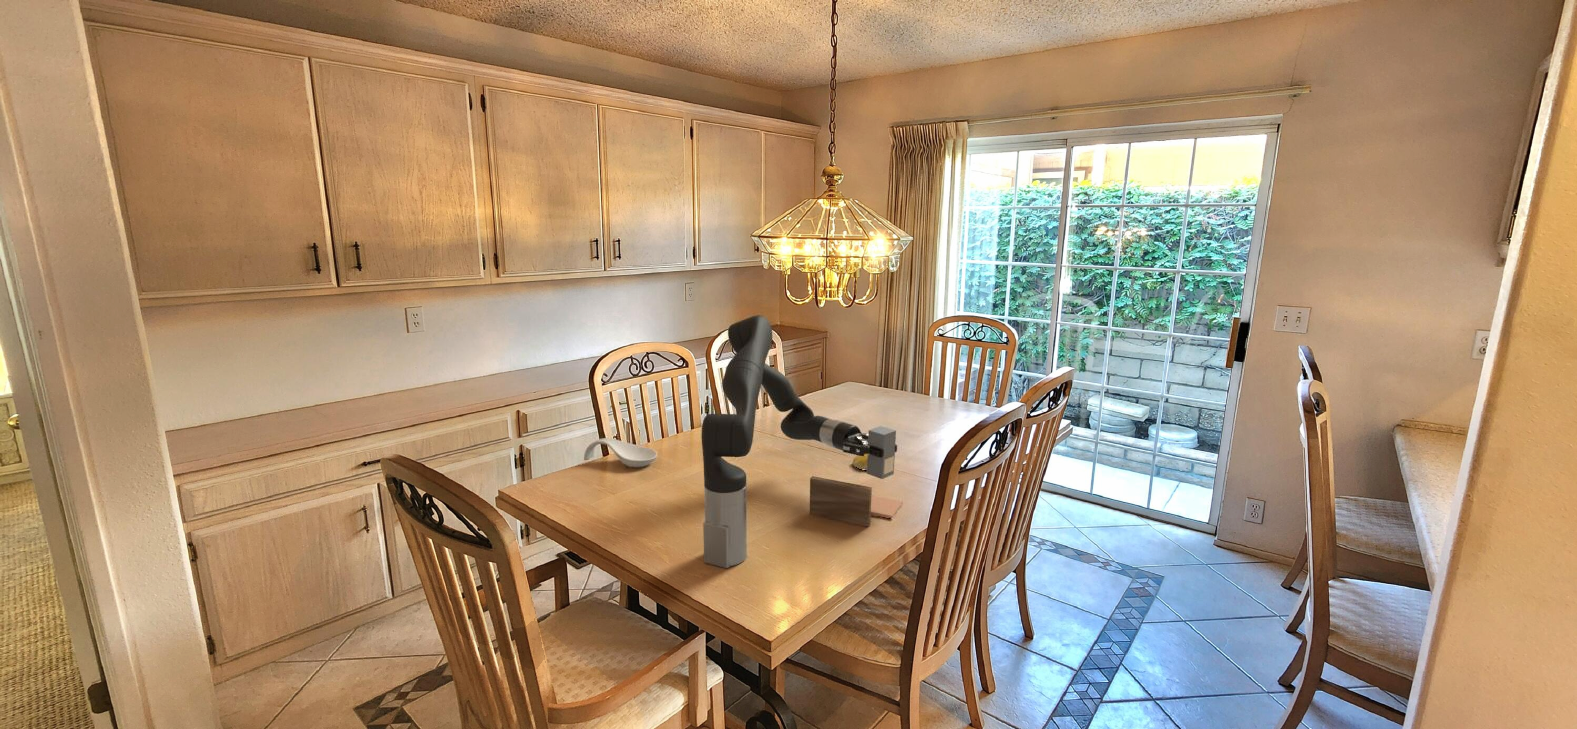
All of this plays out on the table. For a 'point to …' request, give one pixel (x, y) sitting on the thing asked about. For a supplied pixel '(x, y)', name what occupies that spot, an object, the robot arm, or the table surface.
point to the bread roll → (860, 462)
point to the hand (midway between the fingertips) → (889, 451)
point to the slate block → (885, 441)
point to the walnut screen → (840, 501)
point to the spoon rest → (625, 452)
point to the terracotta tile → (884, 506)
